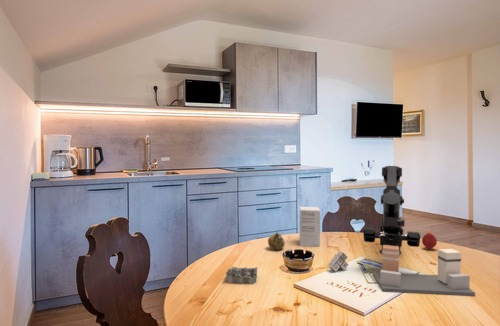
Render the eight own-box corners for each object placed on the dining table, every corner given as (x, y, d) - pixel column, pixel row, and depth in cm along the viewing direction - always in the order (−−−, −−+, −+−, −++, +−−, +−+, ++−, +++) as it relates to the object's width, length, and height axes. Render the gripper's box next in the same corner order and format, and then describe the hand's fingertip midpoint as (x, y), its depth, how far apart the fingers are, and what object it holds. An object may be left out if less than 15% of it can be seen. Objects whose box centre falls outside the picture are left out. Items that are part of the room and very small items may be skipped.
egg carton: (224, 284, 115) (224, 271, 115) (228, 275, 123) (228, 264, 123) (256, 285, 114) (256, 273, 114) (258, 276, 121) (258, 265, 121)
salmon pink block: (382, 273, 120) (382, 244, 120) (398, 275, 118) (399, 246, 118) (382, 277, 117) (382, 247, 116) (398, 279, 115) (399, 249, 114)
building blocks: (340, 276, 126) (352, 259, 128) (331, 268, 124) (344, 250, 126) (330, 271, 131) (342, 255, 133) (322, 263, 129) (335, 246, 131)
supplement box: (299, 240, 168) (299, 206, 167) (318, 241, 166) (319, 206, 166) (299, 246, 158) (299, 209, 158) (320, 246, 157) (320, 210, 156)
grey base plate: (372, 275, 122) (372, 261, 122) (453, 278, 119) (454, 264, 119) (382, 291, 108) (382, 275, 108) (474, 295, 105) (475, 279, 105)
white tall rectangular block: (437, 279, 115) (438, 249, 114) (451, 278, 115) (452, 248, 115) (445, 283, 111) (446, 253, 110) (460, 282, 111) (461, 252, 111)
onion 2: (288, 248, 155) (288, 230, 155) (280, 252, 148) (280, 234, 148) (273, 245, 159) (273, 228, 159) (265, 250, 152) (265, 232, 152)
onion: (438, 251, 150) (438, 233, 149) (424, 250, 151) (424, 232, 150) (434, 247, 155) (434, 230, 155) (420, 247, 156) (420, 229, 156)
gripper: (364, 206, 127) (361, 243, 117) (420, 209, 120) (422, 249, 110) (365, 223, 135) (362, 259, 125) (418, 227, 128) (419, 266, 118)
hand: (390, 258), depth 119 cm, fingers closed, pressing on salmon pink block
